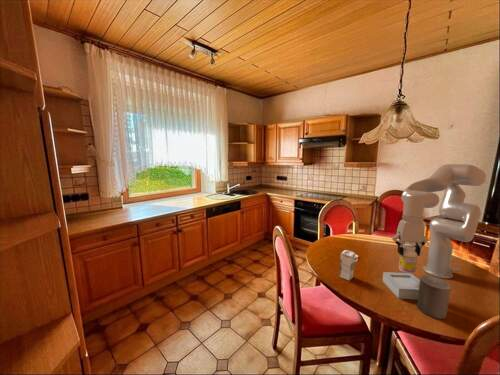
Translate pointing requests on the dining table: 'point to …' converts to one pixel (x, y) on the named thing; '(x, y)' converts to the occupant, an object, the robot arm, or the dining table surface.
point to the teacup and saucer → (356, 257)
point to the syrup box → (347, 265)
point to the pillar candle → (433, 296)
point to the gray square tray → (402, 284)
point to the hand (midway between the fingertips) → (408, 253)
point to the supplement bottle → (408, 259)
